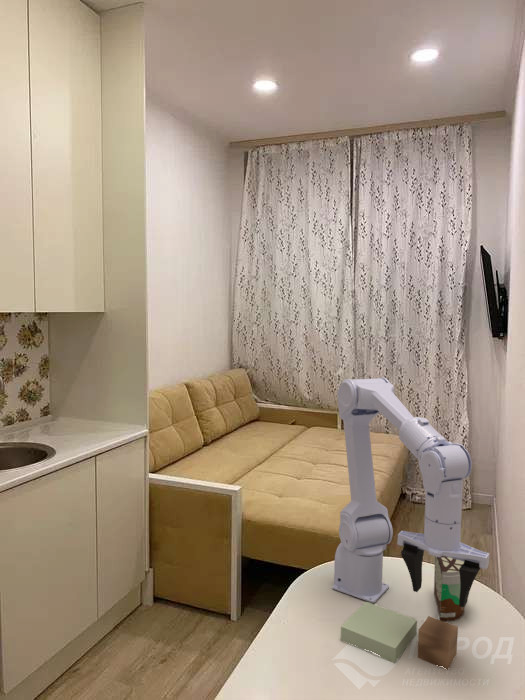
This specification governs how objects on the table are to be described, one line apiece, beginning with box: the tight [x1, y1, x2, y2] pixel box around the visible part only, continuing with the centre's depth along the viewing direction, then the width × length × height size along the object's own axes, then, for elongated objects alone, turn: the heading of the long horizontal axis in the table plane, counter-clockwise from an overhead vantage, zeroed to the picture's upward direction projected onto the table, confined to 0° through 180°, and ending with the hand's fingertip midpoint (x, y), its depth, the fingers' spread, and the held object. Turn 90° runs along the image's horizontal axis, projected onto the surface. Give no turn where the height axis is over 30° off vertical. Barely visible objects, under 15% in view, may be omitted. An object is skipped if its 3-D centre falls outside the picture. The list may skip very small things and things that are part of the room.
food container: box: [433, 556, 465, 622], centre depth 103 cm, size 12×6×10 cm, turn 168°
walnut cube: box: [417, 615, 459, 671], centre depth 89 cm, size 5×5×5 cm
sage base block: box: [340, 601, 418, 664], centre depth 94 cm, size 10×10×3 cm
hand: (439, 596), depth 89 cm, fingers open, 7 cm apart
